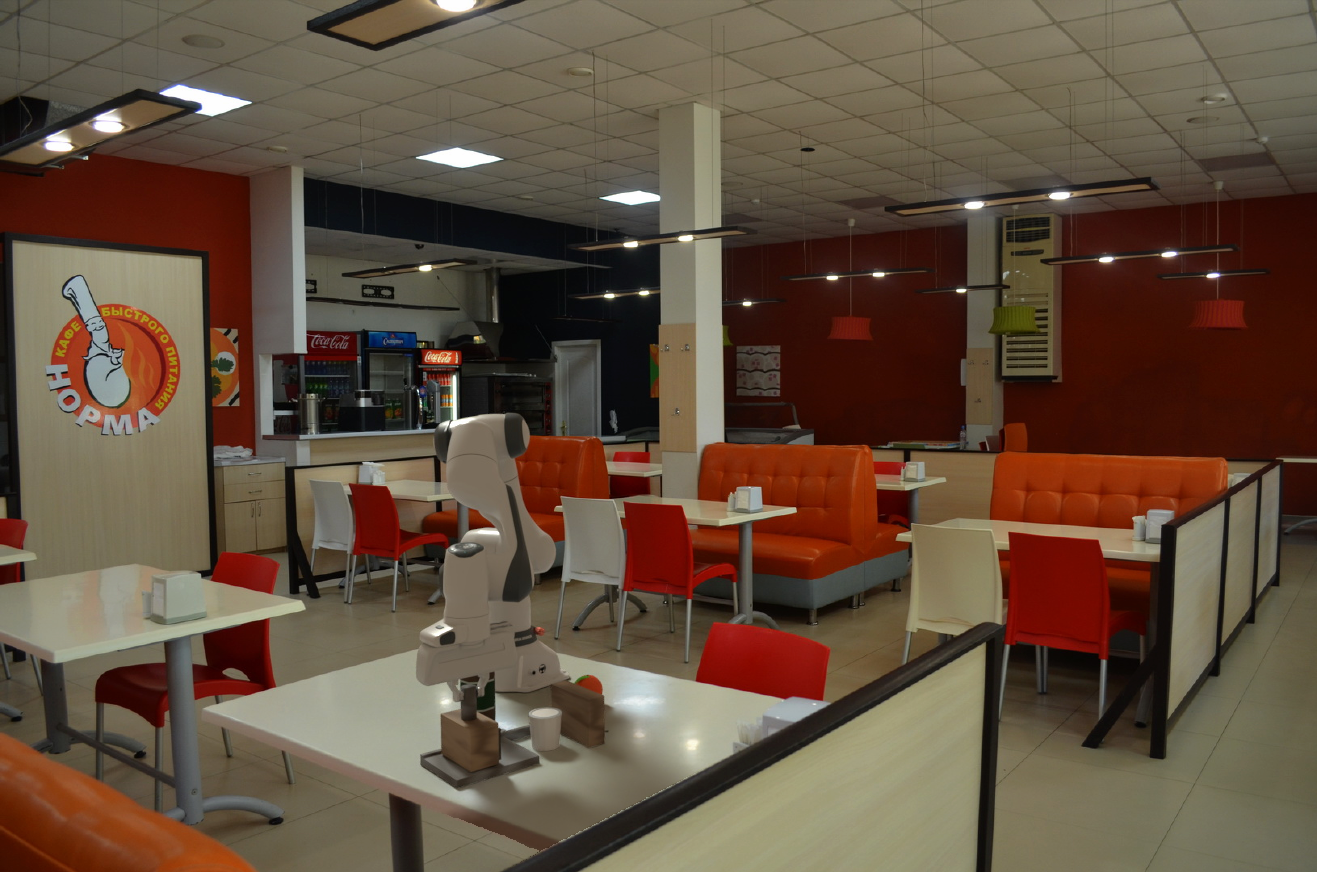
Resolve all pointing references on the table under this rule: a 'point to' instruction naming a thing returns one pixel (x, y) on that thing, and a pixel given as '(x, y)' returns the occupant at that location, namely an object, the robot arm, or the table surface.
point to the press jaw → (470, 735)
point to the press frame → (577, 723)
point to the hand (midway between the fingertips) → (468, 698)
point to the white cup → (545, 728)
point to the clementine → (590, 683)
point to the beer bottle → (488, 700)
